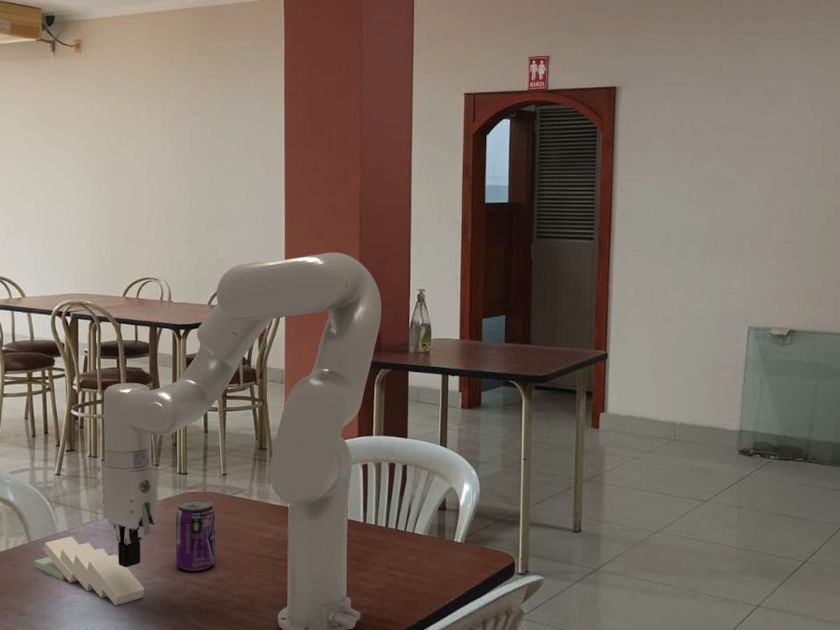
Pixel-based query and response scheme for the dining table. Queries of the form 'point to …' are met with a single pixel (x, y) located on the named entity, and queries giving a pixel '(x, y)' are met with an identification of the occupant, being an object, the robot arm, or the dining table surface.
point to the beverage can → (195, 535)
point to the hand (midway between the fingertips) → (129, 564)
